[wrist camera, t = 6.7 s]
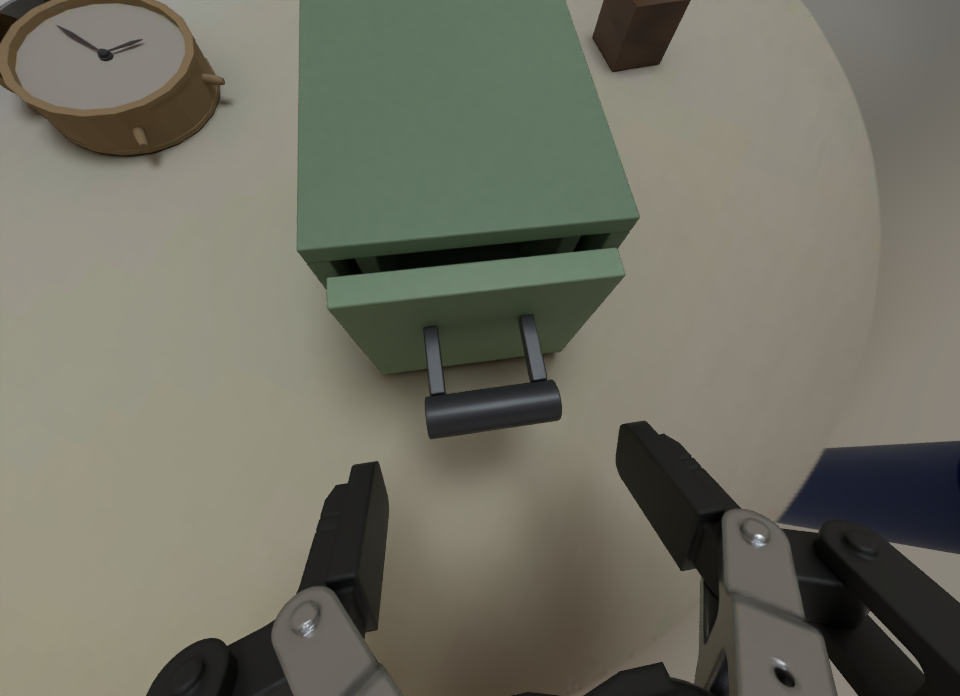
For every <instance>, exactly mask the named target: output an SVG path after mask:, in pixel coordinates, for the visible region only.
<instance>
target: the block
mask: <svg viewBox="0 0 960 696" xmlns="http://www.w3.org/2000/svg"><path fill="white" fill-rule="evenodd" d="M690 1H691V0H604V1H603V4H602V8H601V11H600V14H599V17H598V21H597V24H596V27H595V31H594V34H593V38H594V40H595V42H596V43H597V45H598V47H599V49H600V50H601V52H602V54H603V56H604V57H605V59H606V61H607V63H608V64H609V66H610V68H611V70H612V71H618V70H624V69H630V68H636V67H642V66H648V65H654V64H660V62H661V60H662V58H663V56H664V54H665V52H666V50H667V48H668V46H669V44H670V41H671V39H672V37H673V35H674V33H675V31H676V29H677V27H678V25H679V23H680V21H681V19H682V17H683V15H684V13H685V11H686V9H687V7H688V5H689V3H690Z"/></svg>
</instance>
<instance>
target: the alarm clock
mask: <svg viewBox="0 0 960 696" xmlns="http://www.w3.org/2000/svg"><path fill="white" fill-rule="evenodd" d="M0 85H2V86H3V87H4V88H6V89H7V90H9V91H11V92H13V93H15V94H17V95H18V96H19V97H20V98H21V99H22V100H24V101H25V102H26V103H27V104H28V105H29V106H32V107H33V108H34V109H36V110H37V111H38V112H39V113H40V114H41V115H43V116H44V117H45V118H46V119H47V120H48V121H50V122H51V124H52V125H53V126H55V127H56V128H57V129H58V130H59V131H60V132H61V133H62V134H64V135H65V136H66V137H67V138H68V139H69V140H70V141H72V142H73V143H76V144H78V145H81V146H83V147H85V148H88V149H90V150H93V151H95V152H101V153H109V154H116V155H133V154H143V153H152V152H155V151H158V150H161V149H164V148H167V147H170V146H173V145H176V144H179V143H180V142H182V141H183V140H185V139H186V138H188V137H190V136H191V135H193V134H194V133H196V132H198V131H199V130H200V129H201V128H202V126H203V125H204V124H205V123H206V122H207V121H208V120H209V118H210V117H211V116H212V115H213V113H214V110H215V108H216V105H217V102H218V99H219V97H220V96H219V85H225V81H224V79H223V78H221V77H218V76H216V75H215V73H214V71H213V69H212V68H211V66H210V64H209V62H208V61H207V59H206V58H205V57H204V55H203V54H202V52H201V50H200V49H199V47H198V45H197V43H196V42H195V39H194V37H193V35H192V33H191V32H190V30H189V28H188V27H187V25H186V23H185V21H184V20H183V18H182V17H180V16H179V15H178V14H177V13H175V12H174V11H173V10H172V9H170V8H169V7H168V6H167V5H165V4H163V3H161V2H158V1H156V0H10V1H8V2H6V3H5V4H3V5H2V6H0Z"/></svg>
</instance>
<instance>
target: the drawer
mask: <svg viewBox="0 0 960 696" xmlns="http://www.w3.org/2000/svg"><path fill="white" fill-rule="evenodd" d="M580 237H581V236H573V237H563V238H553V239H543V240H533V241H523V242H513V243H503V244H493V245H483V246H473V247H463V248H453V249H443V250H433V251H423V252H413V253H403V254H393V255H383V256H373V257H363V258H355V260H356V262H357V264H358V266H359V268H360V270H361V272H362V274H358V275H348V276H338V277H329V278H327V308H328V310H329V311H330V312H331V313H332V315H333V316H334V317H335V318H336V319H337V321H338V322H339V323H340V324H341V325H342V327H343V328H344V329H345V330H346V331H347V332H348V334H349V335H350V336H351V337H352V338H353V340H354V341H355V342H356V343H357V344H358V346H359V347H360V348H361V349H362V350H363V352H364V353H365V354H366V355H367V356H368V357H369V359H370V360H371V361H372V362H373V363H374V365H375V366H376V367H377V368H378V369H379V371H380V372H381V373H382V374H391V373H398V372H406V371H414V370H421V369H427V372H428V381H429V391H430V395H431V396H428V397H425V415H426V424H427V430H428V435H429V438H430V439H437V438H444V437H451V436H458V435H464V434H471V433H478V432H484V431H491V430H498V429H505V428H511V427H518V426H525V425H532V424H538V423H545V422H552V421H558V420H560V418H561V415H562V404H561V397H560V393H559V390H558V387H557V385H556V383H555V382H554V381H553V380H546V379H547V374H546V370H545V365H544V360H543V356H542V354H544V353H552V352H560V351H562V350H563V348H564V347H565V346H566V345H567V344H568V343H569V341H570V340H571V339H572V338H573V337H574V335H575V334H576V333H577V332H578V331H579V330H580V328H581V327H582V326H583V325H584V324H585V322H586V321H587V320H588V319H589V318H590V317H591V315H592V314H593V313H594V312H595V311H596V309H597V308H598V307H599V306H600V305H601V304H602V302H603V301H604V300H605V299H606V298H607V296H608V295H609V294H610V293H611V292H612V291H613V289H614V288H615V287H616V286H617V285H618V283H619V282H620V281H621V280H622V279H623V278H624V276H625V271H624V268H623V265H622V262H621V258H620V255H619V252H618V249H617V248H607V249H598V250H588V251H578V252H573V251H574V249H575V247H576V245H577V243H578V241H579V239H580ZM521 356H525V359H526V364H527V369H528V375H529V380H530V383H523V384H516V385H508V386H501V387H494V388H487V389H479V390H472V391H465V392H458V393H450V394H446V390H445V381H444V373H443V367H444V366H452V365H460V364H467V363H475V362H483V361H491V360H498V359H506V358H514V357H521Z"/></svg>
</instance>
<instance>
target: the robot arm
mask: <svg viewBox="0 0 960 696" xmlns="http://www.w3.org/2000/svg"><path fill="white" fill-rule="evenodd" d="M616 467H617V470H618V473H619V475H620V477H621V479H622V480H623V482H624V483H625V485H626V486H627V488H628V490H629V491H630V493H631V494H632V496H633V497H634V499H635V500H636V502H637V503H638V505H639V507H640V508H641V510H642V511H643V513H644V514H645V516H646V517H647V519H648V520H649V522H650V524H651V525H652V527H653V528H654V530H655V531H656V533H657V534H658V536H659V538H660V539H661V541H662V542H663V544H664V545H665V547H666V548H667V550H668V551H669V553H670V555H671V556H672V558H673V559H674V561H675V562H676V564H677V565H678V567H679V568H680V570H681V571H685V570H690V569H695V568H696V569H697V570H698V572H699V573H700V575H701V576H702V578H701V581H700V621H699V623H700V625H699V655H698V662H697V667H696V674H695V682H694V684H692V683H690V682H687V681H684V680H680V679H677V678H672V677H670V676H669V674H668V672H667V670H666V668H665V666H664V664H663V662H660V663H656V664H651V665H646V666H642V667H638V668H633V669H629V670H624V671H620V672H618V673H617V674H615V675H614V676H612V677H611V678H609V679H608V680H606V681H605V682H603V683H602V684H600V685H599V686H597V687H596V688H594V689H593V690H591V691H590V692H589V693H587V694H586V695H584V696H838V695H837V691H836V687H835V683H834V678H833V674H832V670H831V666H830V662H829V659H830V660H831V661H832V663H833V664H834V665H835V666H836V668H837V669H838V670H839V671H840V673H841V674H842V675H843V677H844V678H845V679H846V680H847V682H848V683H849V684H850V685H851V687H852V688H853V689H854V690H855V692H856V693H857V695H858V696H960V603H959V602H958V601H957V600H956V599H954V598H953V597H952V596H951V595H950V594H949V593H947V592H946V591H945V590H944V589H943V588H942V587H940V586H939V585H938V584H937V583H936V582H934V581H933V580H932V579H931V578H930V577H929V576H927V575H926V574H925V573H924V572H923V571H921V570H920V569H919V568H918V567H917V566H916V565H914V564H913V563H912V562H911V561H910V560H908V559H907V558H906V557H905V556H904V555H902V554H901V553H900V552H899V551H898V550H897V549H895V548H894V547H893V546H892V545H891V544H890V543H888V542H887V541H886V540H885V539H883V538H882V537H881V536H879V535H878V534H876V533H874V532H873V531H871V530H869V529H867V528H865V527H863V526H861V525H858V524H855V523H852V522H849V521H844V520H829V521H826V522H825V523H824V524H823V525H822V526H821V528H820V530H819V532H818V533H813V532H806V531H797V530H789V529H782V528H779V526H778V525H776V524H775V523H774V522H773V521H771V520H770V519H768V518H767V517H765V516H763V515H761V514H759V513H757V512H754V511H750V510H746V509H741V508H740V507H739V506H738V505H737V504H736V503H735V501H734V500H733V499H732V498H731V497H730V496H729V495H728V494H727V493H726V492H725V491H724V490H723V489H722V488H721V487H720V486H719V484H718V483H717V482H716V481H715V480H714V479H713V478H712V477H711V476H710V475H709V474H708V473H707V472H706V471H705V470H704V469H703V468H701V465H700V464H699V463H698V462H697V461H696V460H695V459H694V458H692V457H691V455H690V454H689V453H688V452H687V451H686V450H685V448H684V447H683V446H682V445H681V444H680V443H678V442H677V441H675V440H673V439H672V438H670V437H668V436H667V435H665V434H659V435H658V433H657V432H656V431H655V430H654V429H653V428H652V427H651V426H650V425H649V424H648V423H647V422H646V421H639V422H632V423H626V424H622V425H621V426H620V429H619V436H618V443H617V451H616ZM320 517H321V518H320V520H319V522H318V526H317V529H316V531H317V532H316V533H315V536H314V539H313V543H312V546H311V549H310V553H309V556H308V560H307V563H306V566H305V570H304V573H303V576H302V580H301V583H300V586H299V589H298V592H297V593H296V595H295V596H294V597H292V598H291V599H290V600H289V601H288V602H287V603H286V604H285V605H284V607H283V608H282V609H281V611H280V612H279V614H278V616H277V617H276V619H275V620H274V621H272V622H271V623H269V624H268V625H266V626H265V627H263V628H261V629H259V630H257V631H255V632H253V633H251V634H249V635H247V636H246V637H244V638H242V639H240V640H238V641H236V642H234V643H232V644H230V645H228V646H226V644H225V643H224V642H223V641H221V640H220V639H216V638H208V639H203V640H200V641H198V642H195V643H193V644H191V645H190V646H188V647H186V648H185V649H183V650H182V651H181V652H179V653H178V654H177V655H176V656H175V657H174V658H172V659H171V660H170V661H169V662H168V663H167V664H166V666H165V667H164V668H163V669H162V670H161V672H160V673H159V674H158V676H157V677H156V679H155V680H154V681H153V683H152V685H151V687H150V689H149V691H148V693H147V695H146V696H403V695H402V694H401V692H400V691H399V689H398V688H397V686H396V684H395V683H394V681H393V680H392V678H391V677H390V675H389V673H388V672H387V670H386V669H385V668H384V666H383V665H382V664H381V663H379V662H378V661H377V659H376V658H375V656H374V655H373V653H372V652H371V650H370V649H369V647H368V645H367V644H366V642H365V641H364V638H365V633H366V632H371V631H376V630H378V621H379V610H380V600H381V590H382V580H383V570H384V559H385V549H386V539H387V529H388V519H389V502H388V495H387V491H386V487H385V483H384V480H383V476H382V472H381V468H380V465H379V462H378V461H375V462H368V463H362V464H355V465H353V466H352V468H351V472H350V477H349V481H348V483H346V484H340V485H336V486H335V487H334V489H333V490H332V491H331V493H330V494H329V496H328V497H327V498H326V500H325V502H324V506H323V509H322V512H321V516H320ZM870 611H871V612H872V613H873V614H874V615H875V616H876V617H877V618H878V619H879V620H880V621H881V622H882V623H883V624H884V625H885V626H886V627H887V628H888V629H889V630H890V631H891V632H892V634H893V635H894V636H895V637H896V638H897V639H898V640H899V641H900V642H901V643H902V644H903V645H904V646H905V647H906V648H907V649H908V650H909V651H910V652H911V653H912V655H913V656H914V657H915V658H916V659H917V661H918V662H919V664H920V666H921V667H922V669H923V672H924V674H923V673H922V672H921V671H920V670H919V668H918V667H917V666H916V665H915V664H914V663H913V662H912V661H911V660H910V659H909V658H908V657H907V656H906V655H905V654H904V653H903V652H902V650H901V649H900V648H899V647H898V646H897V645H896V644H895V643H894V642H893V641H892V640H891V639H890V638H889V637H888V636H887V635H886V634H885V632H883V630H882V629H881V628H880V627H879V626H878V625H877V624H876V623H875V622H874V621H873V620H872V619H871V618H870V617H869V616H868V613H869V612H870ZM828 657H829V658H828ZM513 696H557V695H549V694H541V693H533V692H526V693H521V694H517V695H513Z"/></svg>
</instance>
